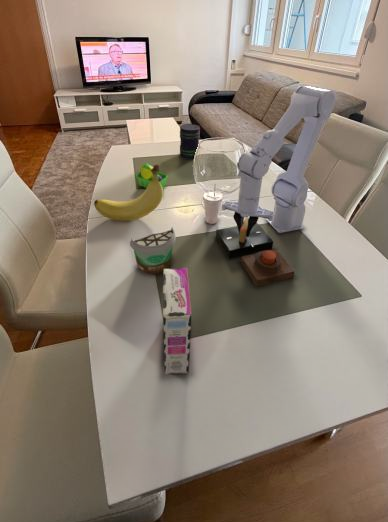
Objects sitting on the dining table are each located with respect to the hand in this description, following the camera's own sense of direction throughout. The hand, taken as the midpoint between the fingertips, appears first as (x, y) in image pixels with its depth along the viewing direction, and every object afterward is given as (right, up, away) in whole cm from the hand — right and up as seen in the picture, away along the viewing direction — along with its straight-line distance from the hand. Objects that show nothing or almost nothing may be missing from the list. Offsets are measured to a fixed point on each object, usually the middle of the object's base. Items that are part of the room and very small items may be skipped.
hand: (244, 234), depth 89 cm
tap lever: (0, 0, 0) cm, 0 cm away
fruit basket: (-32, +14, +32) cm, 48 cm away
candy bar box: (-19, -19, -28) cm, 38 cm away
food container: (-25, -8, -8) cm, 27 cm away
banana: (-37, +3, +12) cm, 39 cm away
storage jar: (-17, +30, +63) cm, 71 cm away
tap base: (0, -3, +2) cm, 3 cm away
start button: (+5, -5, -10) cm, 12 cm away
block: (+5, -8, -8) cm, 13 cm away
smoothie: (-9, +2, +12) cm, 15 cm away
